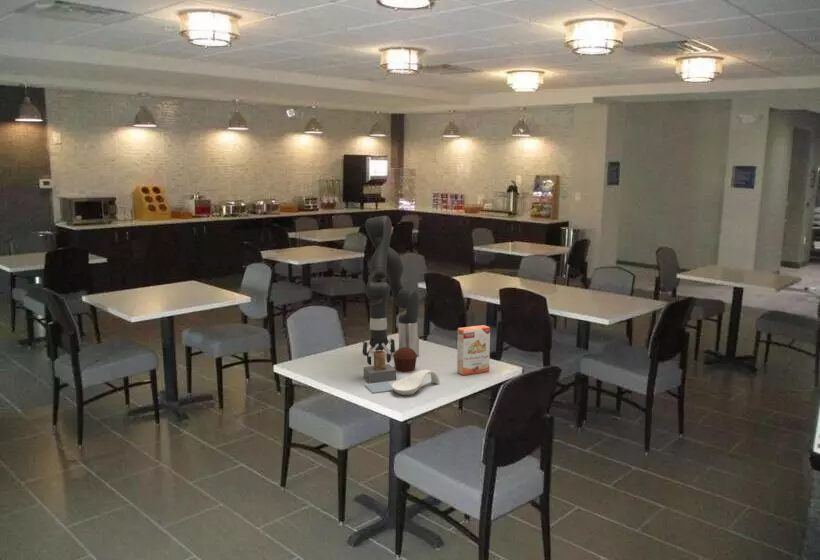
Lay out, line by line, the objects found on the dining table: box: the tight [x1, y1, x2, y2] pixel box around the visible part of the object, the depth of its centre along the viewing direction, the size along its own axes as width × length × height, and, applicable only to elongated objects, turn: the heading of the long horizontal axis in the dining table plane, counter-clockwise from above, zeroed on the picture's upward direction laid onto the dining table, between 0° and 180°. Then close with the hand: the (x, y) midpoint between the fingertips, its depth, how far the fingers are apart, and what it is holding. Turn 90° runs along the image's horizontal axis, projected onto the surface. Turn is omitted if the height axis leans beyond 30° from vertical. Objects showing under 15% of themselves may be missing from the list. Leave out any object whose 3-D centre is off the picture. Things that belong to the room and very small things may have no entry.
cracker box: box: [456, 324, 491, 376], centre depth 294 cm, size 14×6×21 cm, turn 115°
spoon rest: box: [391, 369, 441, 396], centre depth 274 cm, size 24×12×7 cm, turn 134°
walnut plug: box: [373, 350, 386, 371], centre depth 288 cm, size 4×4×12 cm
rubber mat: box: [365, 381, 395, 394], centre depth 275 cm, size 10×10×1 cm
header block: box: [362, 363, 397, 384], centre depth 288 cm, size 12×10×4 cm
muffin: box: [392, 347, 418, 373], centre depth 301 cm, size 12×11×10 cm
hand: (379, 363), depth 288 cm, fingers open, 8 cm apart
